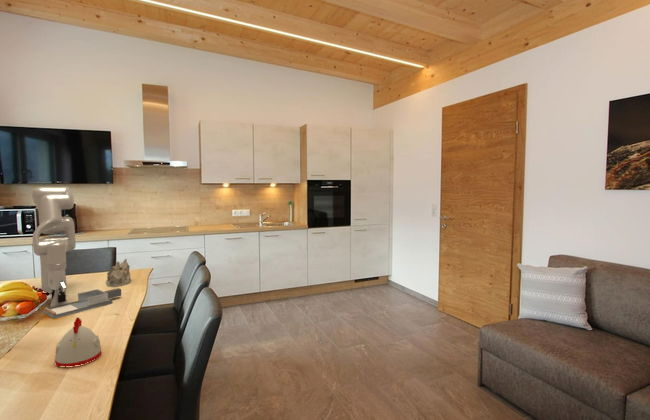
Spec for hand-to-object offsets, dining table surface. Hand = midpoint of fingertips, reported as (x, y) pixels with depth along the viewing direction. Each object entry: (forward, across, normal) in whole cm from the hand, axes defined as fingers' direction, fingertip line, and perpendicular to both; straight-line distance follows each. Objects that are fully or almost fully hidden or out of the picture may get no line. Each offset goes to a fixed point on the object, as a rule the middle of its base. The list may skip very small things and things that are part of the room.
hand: (58, 300), depth 180 cm
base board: (+3, +11, +5) cm, 12 cm away
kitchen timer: (+3, +67, -16) cm, 69 cm away
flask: (+3, 0, 0) cm, 3 cm away
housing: (+2, +11, +16) cm, 19 cm away
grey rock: (+3, -18, +36) cm, 41 cm away
